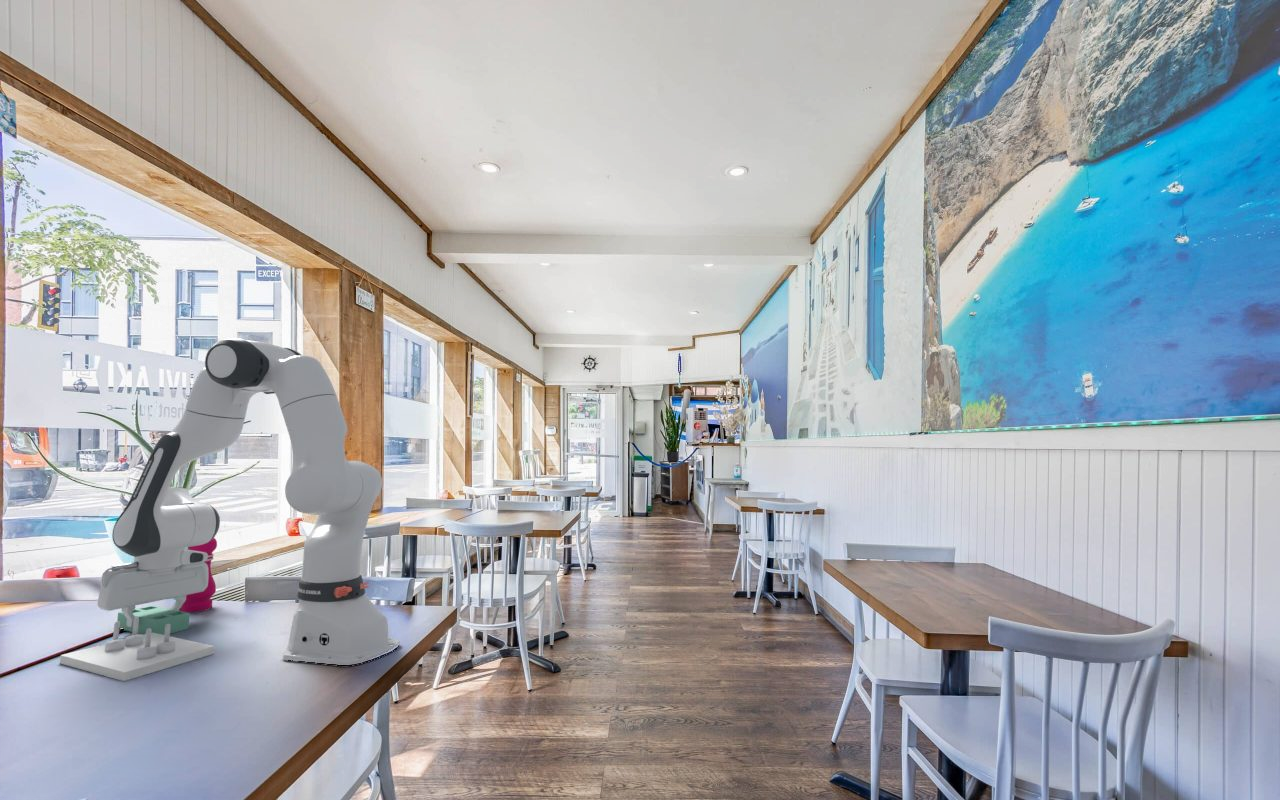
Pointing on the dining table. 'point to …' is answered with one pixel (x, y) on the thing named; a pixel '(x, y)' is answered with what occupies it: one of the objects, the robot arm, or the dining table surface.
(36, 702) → the dining table surface
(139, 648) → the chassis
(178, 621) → the green block with holes
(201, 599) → the pepper mill
